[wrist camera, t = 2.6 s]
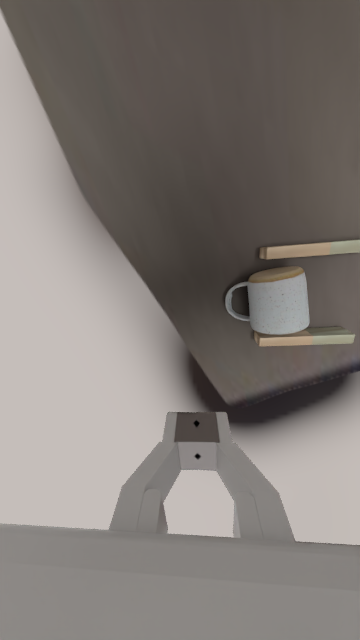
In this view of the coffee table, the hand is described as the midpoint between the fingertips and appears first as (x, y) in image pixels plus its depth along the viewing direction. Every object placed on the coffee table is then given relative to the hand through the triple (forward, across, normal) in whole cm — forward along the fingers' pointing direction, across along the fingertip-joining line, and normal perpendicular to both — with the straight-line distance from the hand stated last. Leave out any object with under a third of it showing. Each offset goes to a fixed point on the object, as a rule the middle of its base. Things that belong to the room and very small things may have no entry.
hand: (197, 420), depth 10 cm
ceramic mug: (+24, -10, 0) cm, 26 cm away
